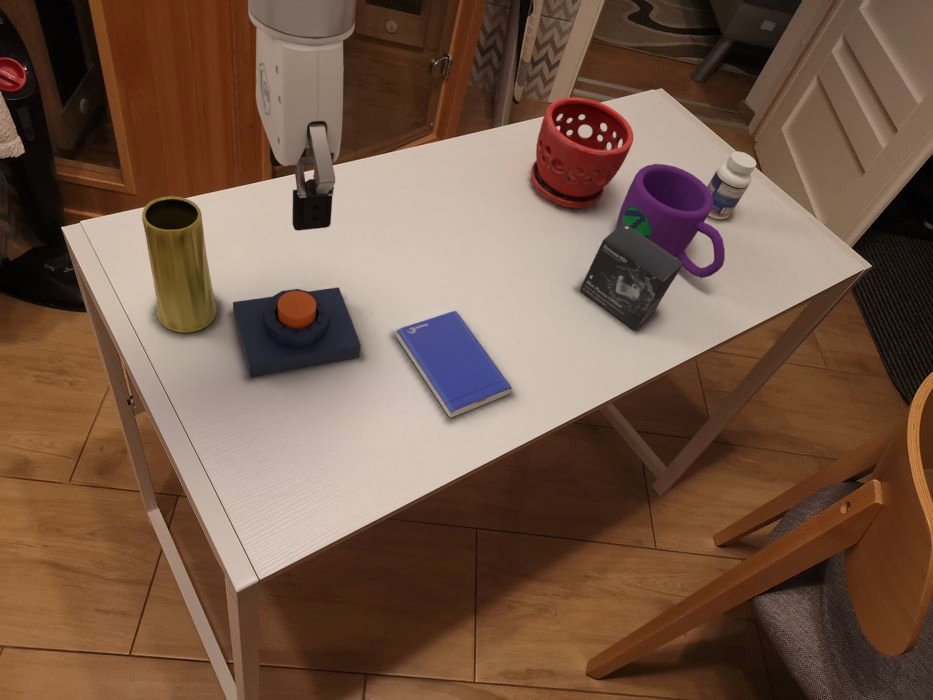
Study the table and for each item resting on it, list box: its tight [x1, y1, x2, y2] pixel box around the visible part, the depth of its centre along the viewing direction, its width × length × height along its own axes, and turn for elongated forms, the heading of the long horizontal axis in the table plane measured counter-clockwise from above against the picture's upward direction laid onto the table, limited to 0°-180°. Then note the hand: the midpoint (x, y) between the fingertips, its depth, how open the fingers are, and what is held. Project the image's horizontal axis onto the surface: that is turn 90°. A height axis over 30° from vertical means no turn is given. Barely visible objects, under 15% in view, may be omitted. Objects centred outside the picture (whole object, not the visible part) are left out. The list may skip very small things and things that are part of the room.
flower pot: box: [530, 97, 634, 209], centre depth 101 cm, size 13×13×12 cm
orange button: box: [278, 291, 316, 329], centre depth 74 cm, size 4×4×2 cm
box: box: [579, 223, 684, 331], centre depth 88 cm, size 9×6×10 cm, turn 49°
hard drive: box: [395, 310, 513, 419], centre depth 78 cm, size 2×8×12 cm
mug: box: [615, 163, 726, 279], centre depth 96 cm, size 17×11×10 cm, turn 35°
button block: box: [232, 287, 361, 378], centre depth 75 cm, size 12×9×4 cm
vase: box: [141, 195, 217, 334], centre depth 71 cm, size 6×6×14 cm
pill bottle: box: [706, 150, 757, 220], centre depth 107 cm, size 5×5×10 cm
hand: (299, 193), depth 62 cm, fingers open, 8 cm apart
